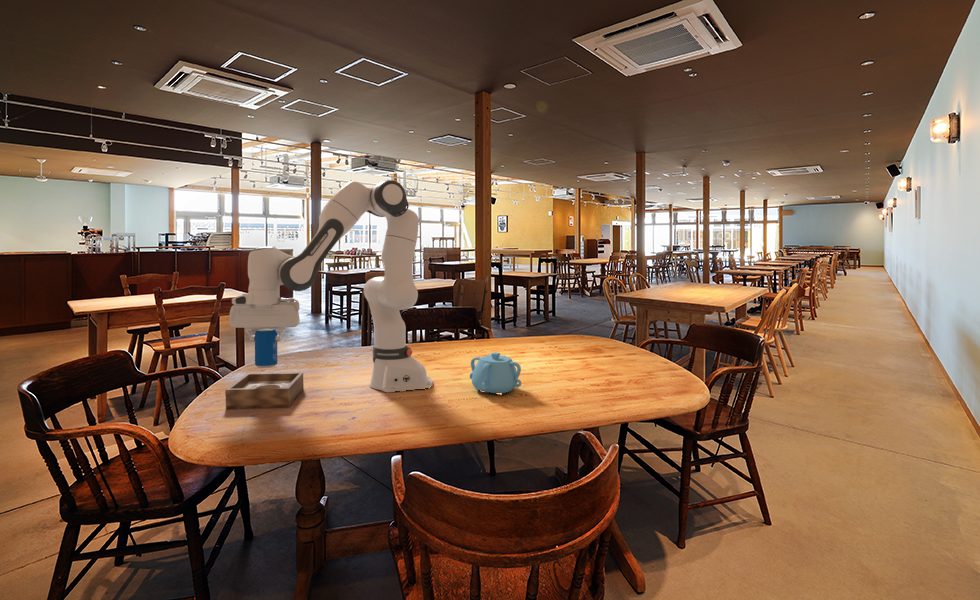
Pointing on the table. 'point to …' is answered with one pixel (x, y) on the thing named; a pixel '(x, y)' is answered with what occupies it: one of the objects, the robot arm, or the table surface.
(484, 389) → the decorative pot
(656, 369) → the table surface
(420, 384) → the robot arm
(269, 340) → the beverage can
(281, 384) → the caddy
